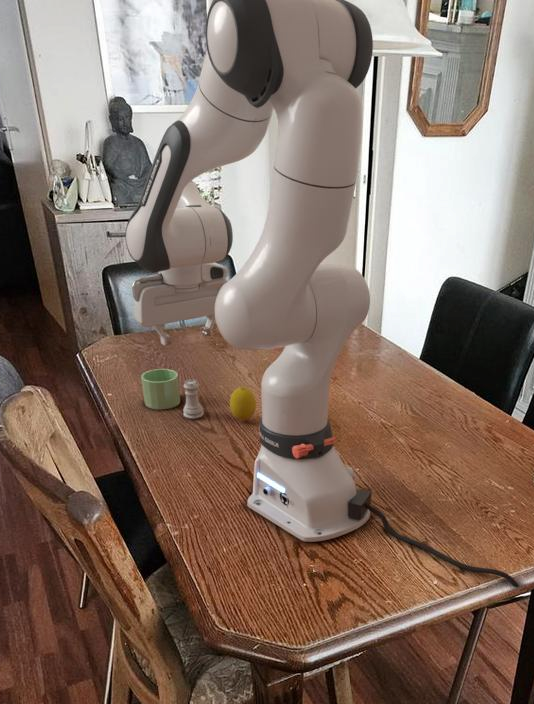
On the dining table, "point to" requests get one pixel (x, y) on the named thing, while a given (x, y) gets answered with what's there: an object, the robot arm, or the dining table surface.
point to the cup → (160, 388)
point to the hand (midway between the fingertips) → (187, 339)
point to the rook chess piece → (192, 401)
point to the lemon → (242, 403)
